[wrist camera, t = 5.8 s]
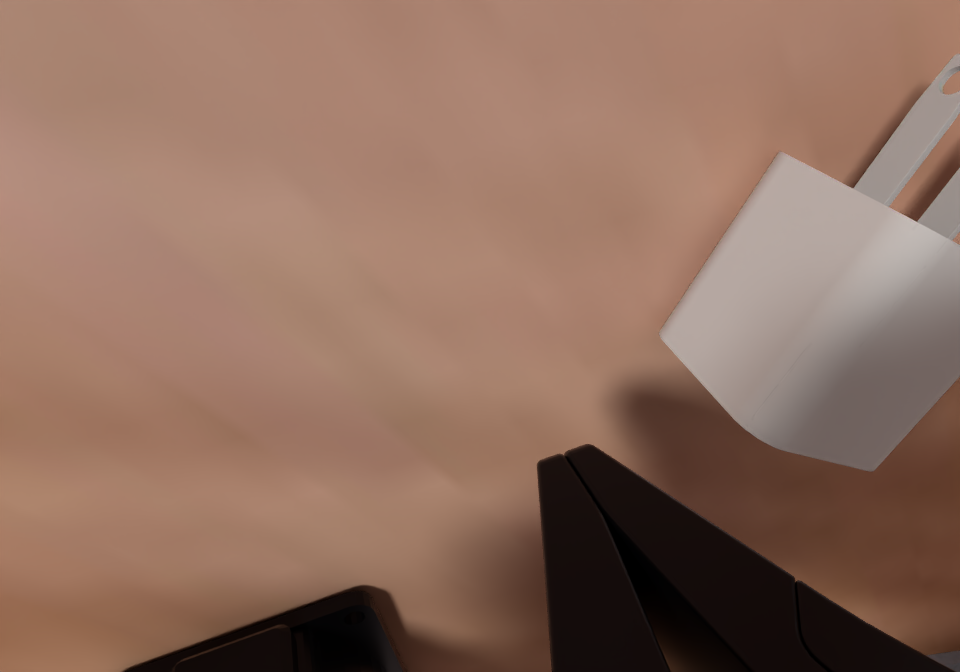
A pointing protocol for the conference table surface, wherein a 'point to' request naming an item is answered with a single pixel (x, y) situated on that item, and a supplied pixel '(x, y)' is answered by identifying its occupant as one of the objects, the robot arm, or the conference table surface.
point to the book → (948, 659)
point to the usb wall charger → (833, 302)
